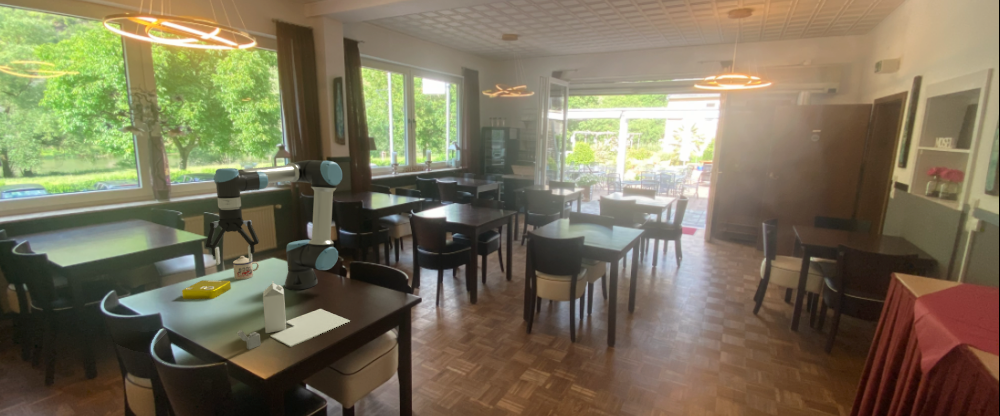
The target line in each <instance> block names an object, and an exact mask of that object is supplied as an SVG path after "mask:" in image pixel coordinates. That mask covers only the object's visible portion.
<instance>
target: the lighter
mask: <svg viewBox="0 0 1000 416" xmlns="http://www.w3.org/2000/svg"><path fill="white" fill-rule="evenodd" d="M236 334H237V335H238V337H239V338H240V339H241V341H243V342H246V349H247V350H252V349H254V348H258V347H259V346H261V343H262V342H261V334H260V333H258V332H255V331H253V332H251V333H249V335H248V336H247V335H246V334H245V332H244V331H243V330H241V329H239V330H238V331H237V332H236Z"/></svg>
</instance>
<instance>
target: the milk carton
mask: <svg viewBox="0 0 1000 416" xmlns="http://www.w3.org/2000/svg"><path fill="white" fill-rule="evenodd" d="M262 301H263V303H262V304H263V317H264V326H265V327H264V329H265V334H269V333H274V332H275V333H277V332H280V331H283V330H285V329H287V323H286V321H287V317H286V304H285V290H284V288H283V286H282V285H280V284H276V283H274V282H272V283H271V284H269V286H267V288H265V289H264V290H263V293H262Z"/></svg>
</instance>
